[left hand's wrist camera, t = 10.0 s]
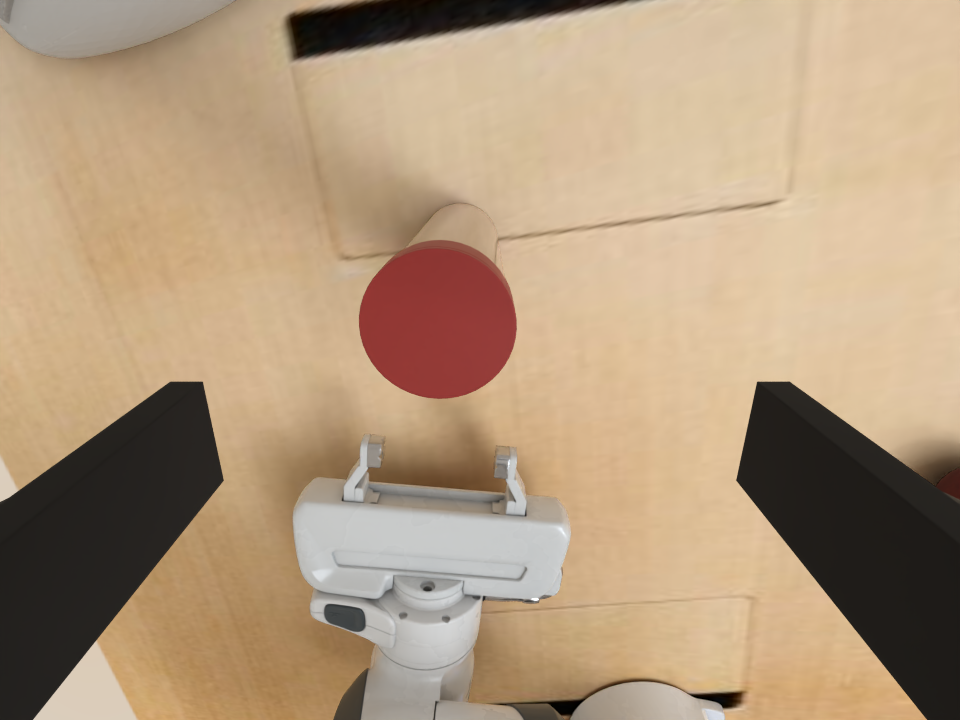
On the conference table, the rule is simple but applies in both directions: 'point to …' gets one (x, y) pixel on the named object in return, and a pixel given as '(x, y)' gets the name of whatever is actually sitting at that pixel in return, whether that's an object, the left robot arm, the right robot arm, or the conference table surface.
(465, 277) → the lid
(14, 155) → the conference table surface
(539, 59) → the conference table surface
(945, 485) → the dark maroon ball
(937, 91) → the conference table surface
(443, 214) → the jar
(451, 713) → the right robot arm
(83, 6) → the projector
